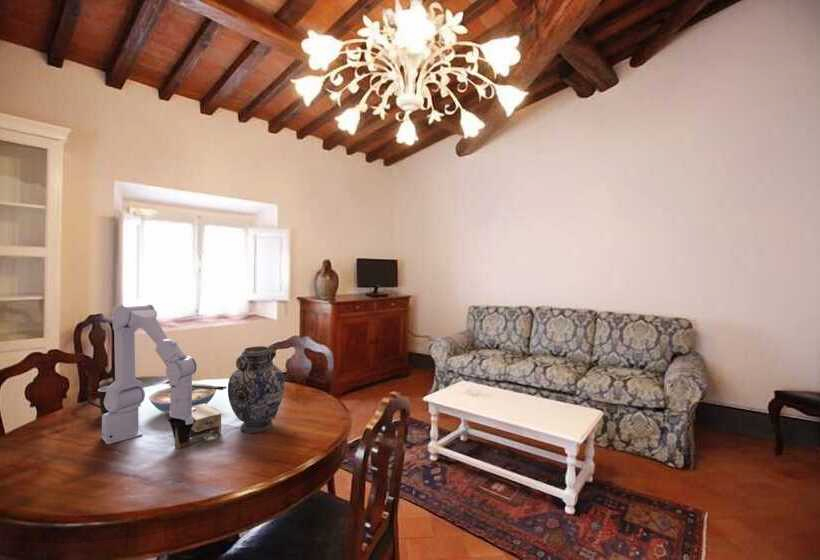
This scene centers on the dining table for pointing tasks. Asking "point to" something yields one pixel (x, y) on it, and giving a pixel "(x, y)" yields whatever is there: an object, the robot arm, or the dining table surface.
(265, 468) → the dining table surface
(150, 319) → the robot arm
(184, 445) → the wood grain brick
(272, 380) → the decorative vase
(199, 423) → the tan slab
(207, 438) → the button
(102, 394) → the coffee mug
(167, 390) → the ramen bowl
